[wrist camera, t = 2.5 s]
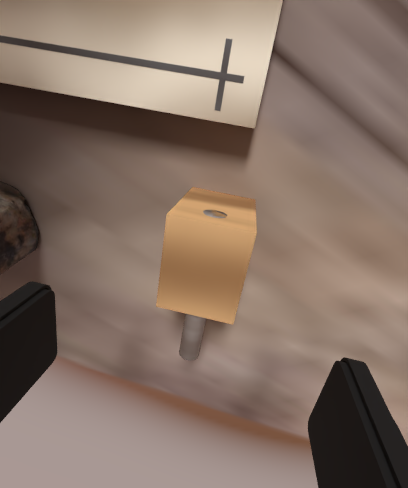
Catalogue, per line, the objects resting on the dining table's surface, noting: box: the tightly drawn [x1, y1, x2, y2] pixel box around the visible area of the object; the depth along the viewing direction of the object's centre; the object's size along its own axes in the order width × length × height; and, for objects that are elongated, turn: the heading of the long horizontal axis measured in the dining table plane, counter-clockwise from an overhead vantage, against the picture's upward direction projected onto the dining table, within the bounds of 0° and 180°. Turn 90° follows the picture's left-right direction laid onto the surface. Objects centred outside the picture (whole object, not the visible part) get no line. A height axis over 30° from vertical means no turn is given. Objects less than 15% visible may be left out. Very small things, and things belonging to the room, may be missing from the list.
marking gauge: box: [156, 187, 257, 360], centre depth 17 cm, size 9×4×6 cm, turn 170°
